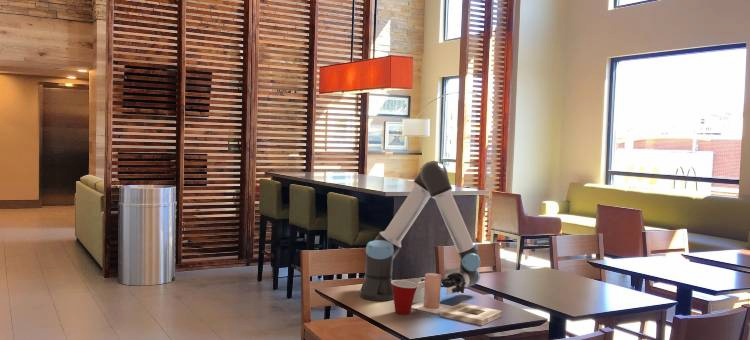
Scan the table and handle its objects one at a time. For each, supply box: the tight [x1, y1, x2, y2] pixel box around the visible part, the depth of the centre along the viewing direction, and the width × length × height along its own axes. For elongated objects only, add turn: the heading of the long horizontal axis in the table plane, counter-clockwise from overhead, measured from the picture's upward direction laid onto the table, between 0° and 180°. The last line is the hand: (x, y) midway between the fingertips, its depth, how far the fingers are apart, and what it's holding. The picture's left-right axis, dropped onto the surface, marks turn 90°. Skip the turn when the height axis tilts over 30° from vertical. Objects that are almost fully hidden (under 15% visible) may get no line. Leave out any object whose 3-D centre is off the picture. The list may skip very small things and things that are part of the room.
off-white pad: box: [411, 300, 452, 315], centre depth 262 cm, size 14×14×1 cm
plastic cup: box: [391, 279, 418, 315], centre depth 252 cm, size 11×11×12 cm
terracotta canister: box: [423, 272, 442, 309], centre depth 261 cm, size 6×6×13 cm
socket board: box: [439, 302, 503, 326], centre depth 251 cm, size 18×18×2 cm
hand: (432, 288), depth 261 cm, fingers open, 13 cm apart
